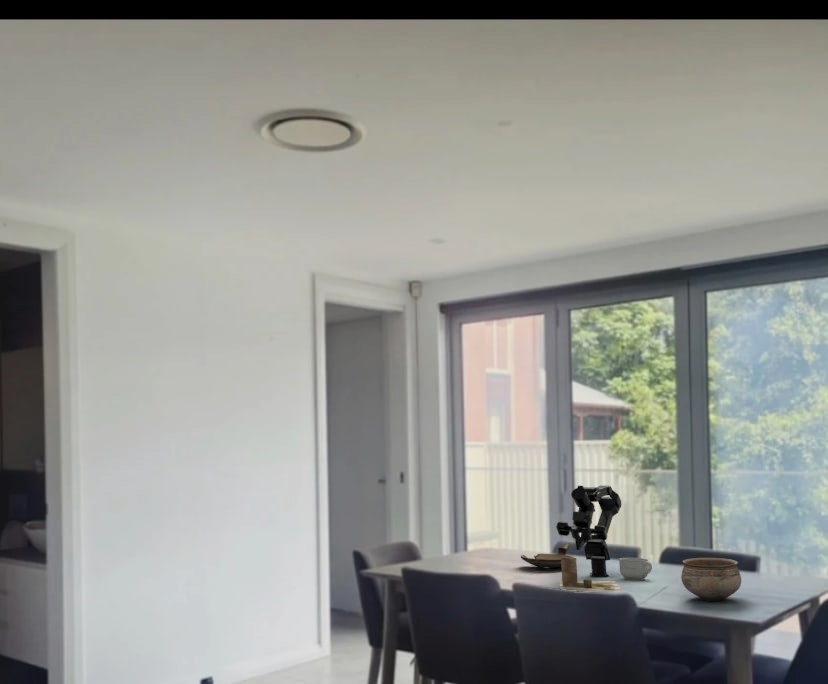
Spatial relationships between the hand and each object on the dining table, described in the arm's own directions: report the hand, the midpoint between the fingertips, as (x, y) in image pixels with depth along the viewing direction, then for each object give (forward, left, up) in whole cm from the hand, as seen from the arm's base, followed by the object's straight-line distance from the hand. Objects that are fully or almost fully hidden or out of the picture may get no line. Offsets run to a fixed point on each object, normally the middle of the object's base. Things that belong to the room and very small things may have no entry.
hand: (577, 549), depth 304 cm
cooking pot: (+29, +41, -13) cm, 52 cm away
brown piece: (+11, +2, -12) cm, 16 cm away
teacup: (-8, +22, -13) cm, 27 cm away
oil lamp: (-43, -8, -13) cm, 46 cm away
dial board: (+9, +3, -13) cm, 16 cm away
